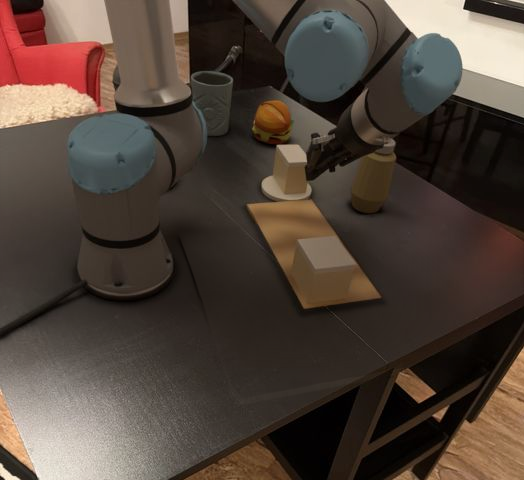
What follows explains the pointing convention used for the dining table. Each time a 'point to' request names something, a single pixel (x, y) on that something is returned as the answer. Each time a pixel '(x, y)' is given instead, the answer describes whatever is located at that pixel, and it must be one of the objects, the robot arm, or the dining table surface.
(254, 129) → the cheeseburger
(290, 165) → the cake slice
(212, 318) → the dining table surface
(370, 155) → the squeeze bottle
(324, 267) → the cake
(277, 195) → the plate
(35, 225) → the dining table surface
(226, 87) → the drinking glass
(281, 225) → the serving board
